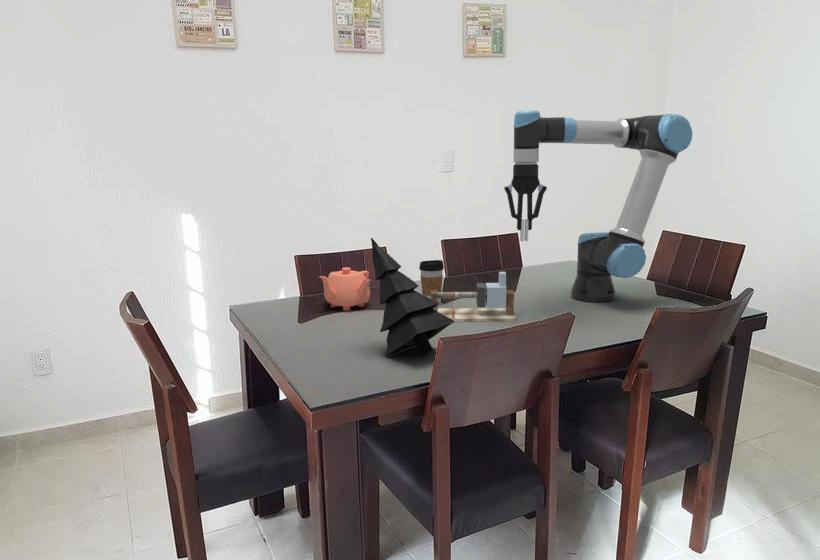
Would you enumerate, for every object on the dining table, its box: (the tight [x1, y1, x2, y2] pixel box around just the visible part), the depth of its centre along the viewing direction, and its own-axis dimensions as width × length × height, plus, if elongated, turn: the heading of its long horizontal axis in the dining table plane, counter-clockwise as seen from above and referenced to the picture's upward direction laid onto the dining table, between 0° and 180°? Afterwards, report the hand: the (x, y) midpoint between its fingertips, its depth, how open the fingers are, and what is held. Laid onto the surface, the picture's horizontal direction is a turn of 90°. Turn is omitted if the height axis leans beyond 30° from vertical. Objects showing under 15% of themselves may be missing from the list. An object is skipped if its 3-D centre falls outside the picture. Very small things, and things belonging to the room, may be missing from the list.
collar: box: [475, 282, 486, 308], centre depth 199 cm, size 2×6×6 cm, turn 178°
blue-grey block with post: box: [485, 271, 508, 308], centre depth 198 cm, size 6×6×10 cm
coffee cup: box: [418, 259, 445, 306], centre depth 215 cm, size 8×8×15 cm
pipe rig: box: [431, 289, 518, 323], centre depth 199 cm, size 27×12×8 cm, turn 87°
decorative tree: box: [370, 237, 455, 357], centre depth 167 cm, size 15×15×35 cm
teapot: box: [319, 266, 371, 312], centre depth 213 cm, size 16×17×14 cm
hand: (524, 240), depth 194 cm, fingers closed
